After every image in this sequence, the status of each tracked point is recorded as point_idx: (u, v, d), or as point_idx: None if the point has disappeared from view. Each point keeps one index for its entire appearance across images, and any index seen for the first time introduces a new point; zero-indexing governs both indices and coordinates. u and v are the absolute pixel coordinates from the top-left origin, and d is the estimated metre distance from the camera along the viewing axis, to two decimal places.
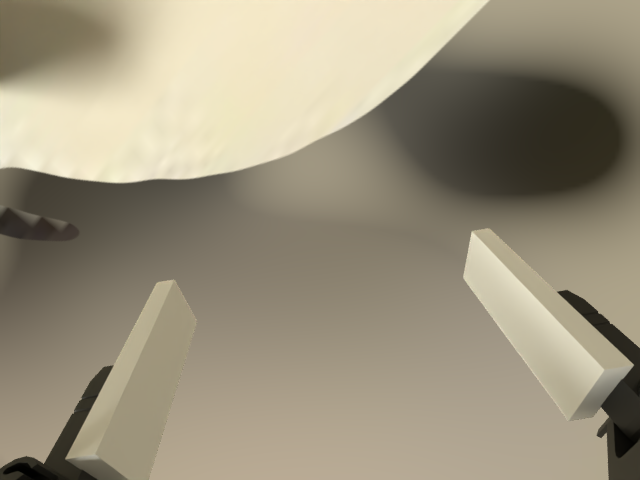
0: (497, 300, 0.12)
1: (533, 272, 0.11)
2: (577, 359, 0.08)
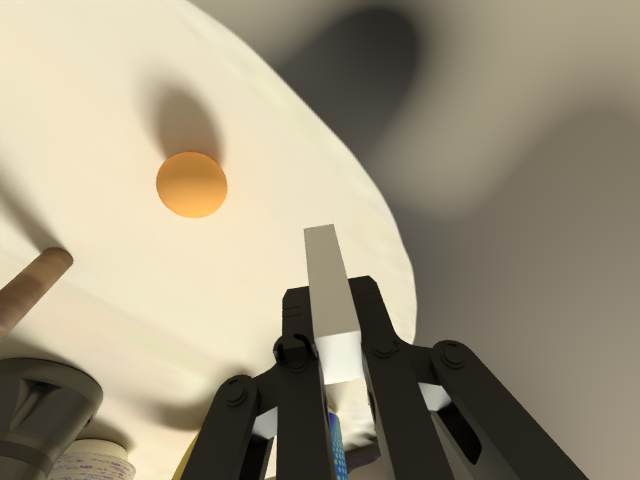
0: None
1: (342, 260, 0.13)
2: None
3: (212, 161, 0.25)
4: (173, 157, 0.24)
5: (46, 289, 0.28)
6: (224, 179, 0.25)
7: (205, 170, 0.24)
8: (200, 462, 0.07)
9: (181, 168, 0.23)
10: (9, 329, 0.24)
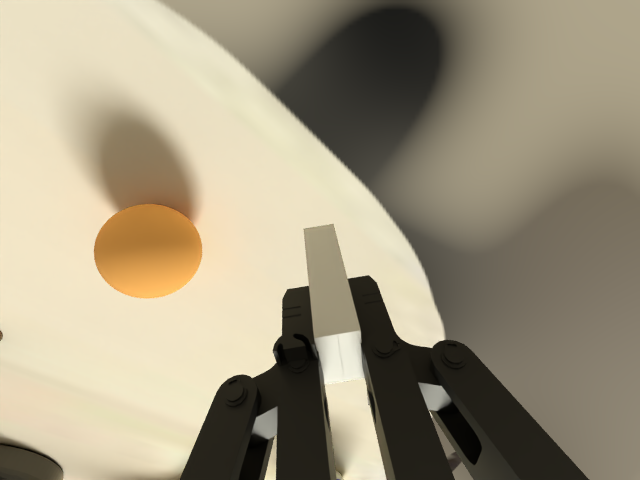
0: None
1: (342, 260, 0.13)
2: None
3: (178, 218, 0.17)
4: (118, 216, 0.16)
5: None
6: (196, 242, 0.18)
7: (165, 235, 0.16)
8: (200, 462, 0.07)
9: (127, 235, 0.15)
10: None
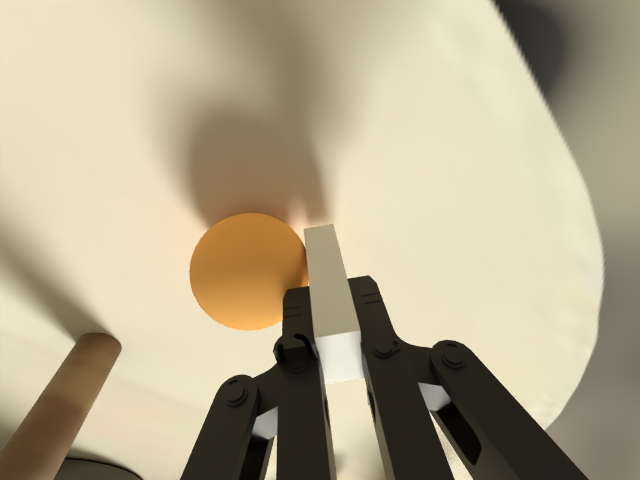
0: None
1: (342, 260, 0.13)
2: None
3: (261, 264, 0.12)
4: (224, 221, 0.13)
5: (87, 413, 0.17)
6: (265, 305, 0.12)
7: (222, 277, 0.12)
8: (200, 462, 0.07)
9: (201, 250, 0.13)
10: None
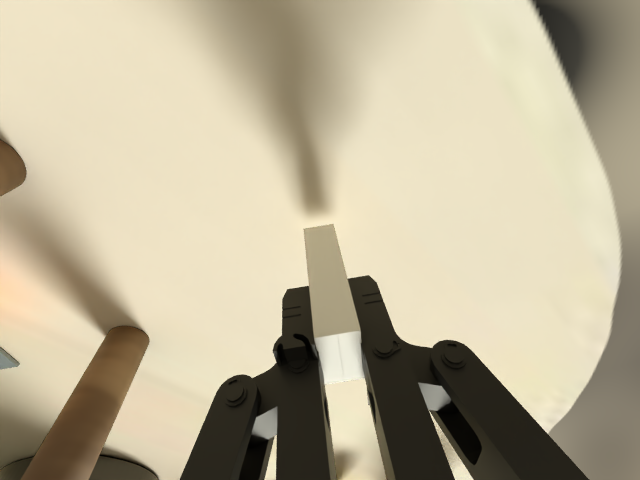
0: None
1: (342, 260, 0.13)
2: None
3: None
4: None
5: (121, 404, 0.17)
6: None
7: None
8: (200, 462, 0.07)
9: None
10: None
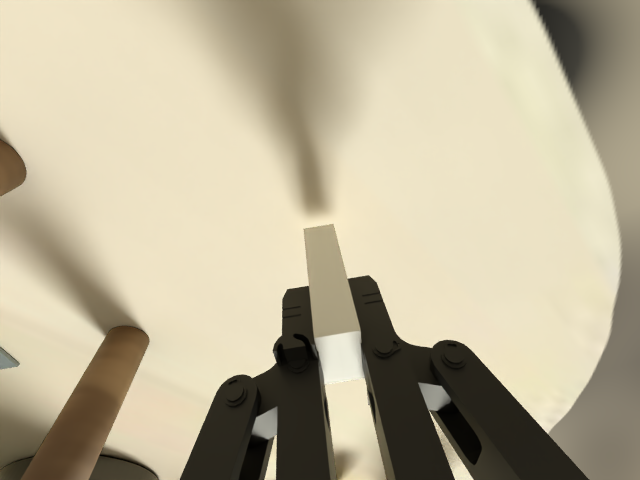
0: None
1: (342, 260, 0.13)
2: None
3: None
4: None
5: (121, 404, 0.17)
6: None
7: None
8: (200, 462, 0.07)
9: None
10: None
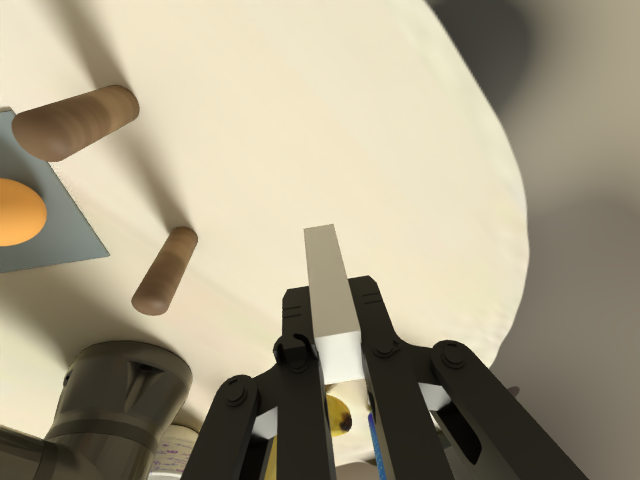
0: None
1: (342, 260, 0.13)
2: None
3: None
4: None
5: (185, 268, 0.27)
6: None
7: None
8: (200, 462, 0.07)
9: None
10: None
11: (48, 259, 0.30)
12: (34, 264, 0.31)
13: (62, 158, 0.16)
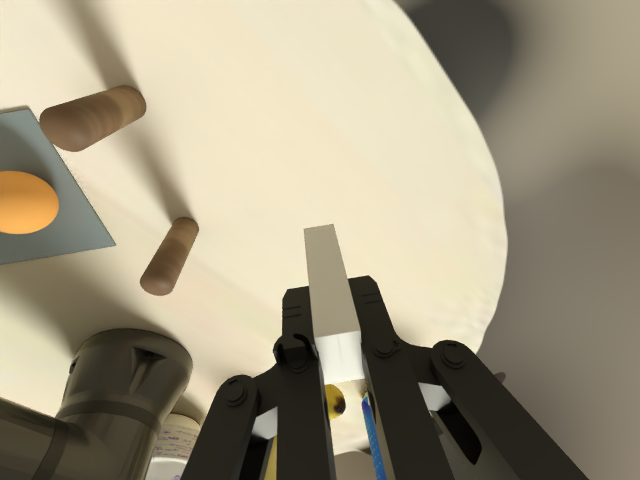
0: None
1: (342, 260, 0.13)
2: None
3: None
4: (4, 172, 0.25)
5: None
6: None
7: None
8: (200, 462, 0.07)
9: None
10: (173, 287, 0.26)
11: (58, 249, 0.32)
12: (44, 254, 0.33)
13: (82, 148, 0.19)
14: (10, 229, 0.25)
